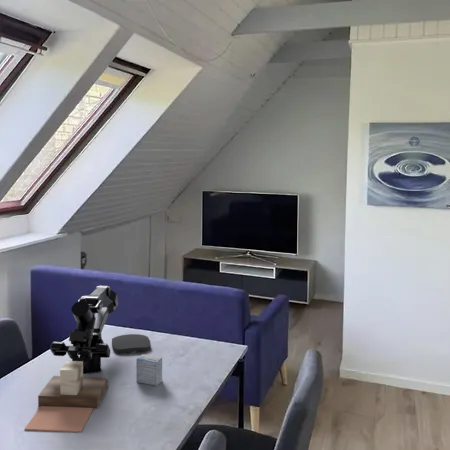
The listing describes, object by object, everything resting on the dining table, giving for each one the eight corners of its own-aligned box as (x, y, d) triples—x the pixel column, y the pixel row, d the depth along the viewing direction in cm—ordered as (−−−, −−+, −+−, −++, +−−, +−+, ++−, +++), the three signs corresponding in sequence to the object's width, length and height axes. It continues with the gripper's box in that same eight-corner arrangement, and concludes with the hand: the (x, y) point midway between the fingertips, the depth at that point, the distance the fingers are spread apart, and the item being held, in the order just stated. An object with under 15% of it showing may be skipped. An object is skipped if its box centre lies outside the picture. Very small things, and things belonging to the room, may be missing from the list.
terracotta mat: (41, 407, 161) (41, 406, 161) (93, 409, 160) (93, 408, 160) (24, 430, 148) (24, 428, 148) (81, 432, 148) (81, 430, 148)
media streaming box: (110, 342, 215) (110, 335, 215) (146, 339, 220) (146, 332, 219) (114, 355, 201) (114, 348, 201) (152, 352, 206) (152, 345, 205)
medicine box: (162, 381, 181) (162, 357, 180) (156, 386, 177) (157, 362, 175) (142, 377, 183) (142, 353, 182) (135, 382, 179) (136, 358, 178)
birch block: (67, 384, 168) (67, 360, 167) (83, 385, 168) (82, 361, 167) (60, 394, 162) (60, 369, 160) (76, 395, 162) (76, 370, 160)
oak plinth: (53, 385, 175) (53, 375, 174) (107, 387, 175) (107, 377, 174) (38, 406, 161) (38, 395, 160) (96, 408, 161) (96, 397, 160)
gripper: (51, 318, 171) (39, 364, 162) (108, 320, 171) (100, 366, 162) (59, 333, 180) (49, 377, 171) (113, 334, 180) (106, 379, 171)
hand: (75, 374), depth 168 cm, fingers closed
